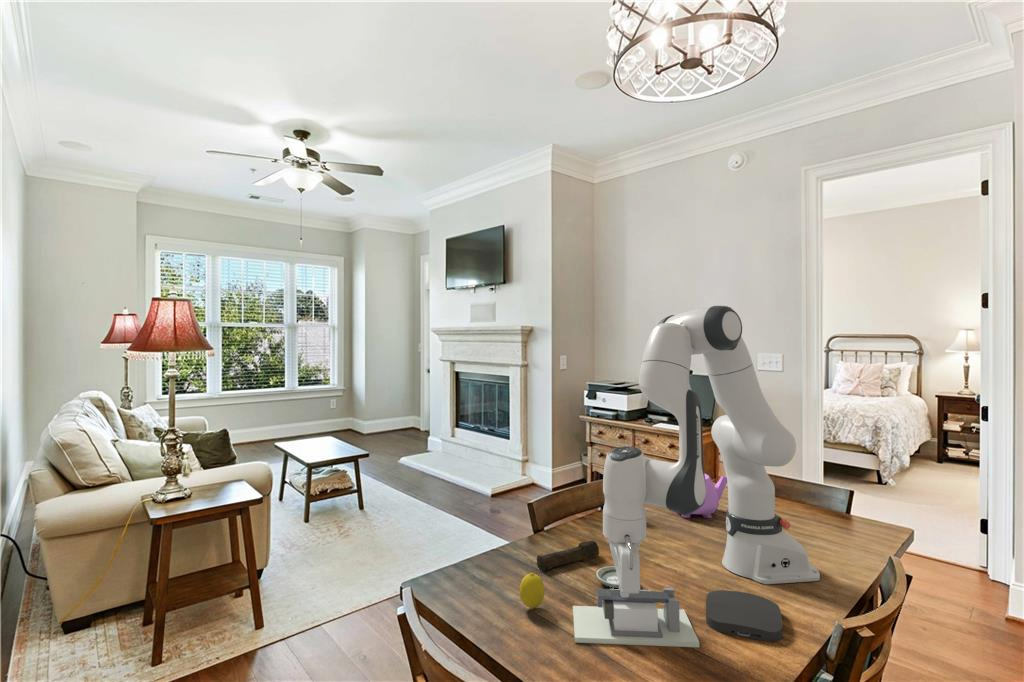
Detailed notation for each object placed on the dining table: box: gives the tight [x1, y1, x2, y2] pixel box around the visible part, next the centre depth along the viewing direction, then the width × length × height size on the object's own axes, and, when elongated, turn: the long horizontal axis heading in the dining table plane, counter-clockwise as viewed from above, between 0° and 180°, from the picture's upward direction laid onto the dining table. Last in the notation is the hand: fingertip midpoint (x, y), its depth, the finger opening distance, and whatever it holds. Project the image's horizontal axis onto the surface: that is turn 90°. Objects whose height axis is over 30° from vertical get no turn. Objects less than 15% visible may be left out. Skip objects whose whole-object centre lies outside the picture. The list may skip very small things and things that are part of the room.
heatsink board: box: [572, 587, 700, 648], centre depth 106 cm, size 24×12×7 cm, turn 85°
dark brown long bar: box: [536, 540, 600, 572], centre depth 137 cm, size 19×4×5 cm, turn 115°
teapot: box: [680, 472, 728, 519], centre depth 173 cm, size 20×20×15 cm
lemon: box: [519, 572, 545, 610], centre depth 114 cm, size 6×6×8 cm
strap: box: [596, 588, 670, 608], centre depth 106 cm, size 14×3×2 cm, turn 85°
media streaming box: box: [705, 589, 784, 642], centre depth 109 cm, size 15×15×3 cm
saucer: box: [595, 565, 619, 589], centre depth 125 cm, size 10×10×2 cm
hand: (623, 594), depth 106 cm, fingers closed, pressing on strap
